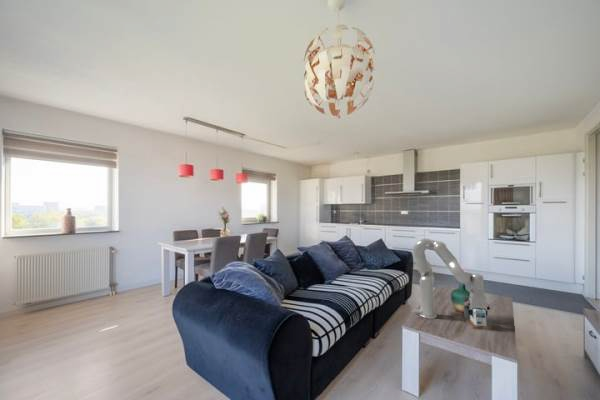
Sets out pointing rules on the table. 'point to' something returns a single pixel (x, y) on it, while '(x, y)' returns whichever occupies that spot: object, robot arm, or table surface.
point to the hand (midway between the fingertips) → (477, 315)
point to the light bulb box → (478, 317)
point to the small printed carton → (467, 319)
